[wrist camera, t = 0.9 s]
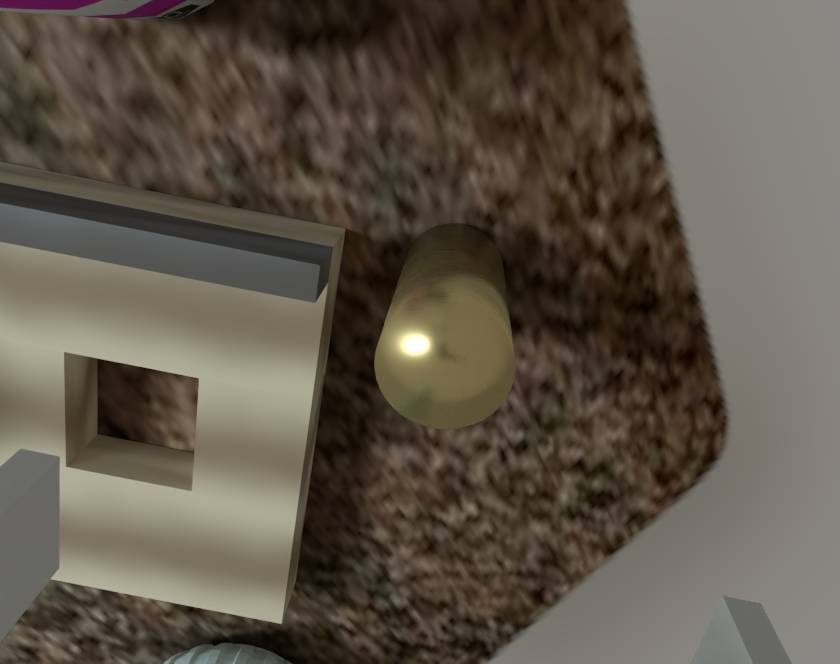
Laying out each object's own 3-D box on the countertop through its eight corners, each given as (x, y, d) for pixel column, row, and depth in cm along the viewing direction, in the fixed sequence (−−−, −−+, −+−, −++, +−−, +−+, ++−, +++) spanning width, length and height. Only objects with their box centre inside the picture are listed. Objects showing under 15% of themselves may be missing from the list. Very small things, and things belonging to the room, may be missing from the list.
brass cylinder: (413, 214, 31) (386, 288, 21) (513, 233, 31) (529, 316, 21) (396, 308, 32) (364, 414, 23) (491, 326, 32) (498, 440, 23)
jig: (-14, 158, 31) (-111, 181, 26) (345, 228, 31) (320, 265, 26) (6, 526, 39) (-64, 599, 34) (295, 582, 39) (268, 663, 34)
